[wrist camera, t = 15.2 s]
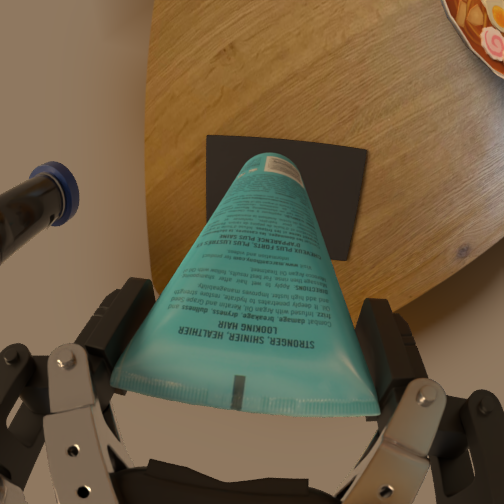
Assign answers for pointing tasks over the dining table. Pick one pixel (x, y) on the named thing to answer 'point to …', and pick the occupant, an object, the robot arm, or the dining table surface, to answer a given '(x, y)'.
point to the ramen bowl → (480, 29)
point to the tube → (254, 312)
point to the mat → (311, 170)
